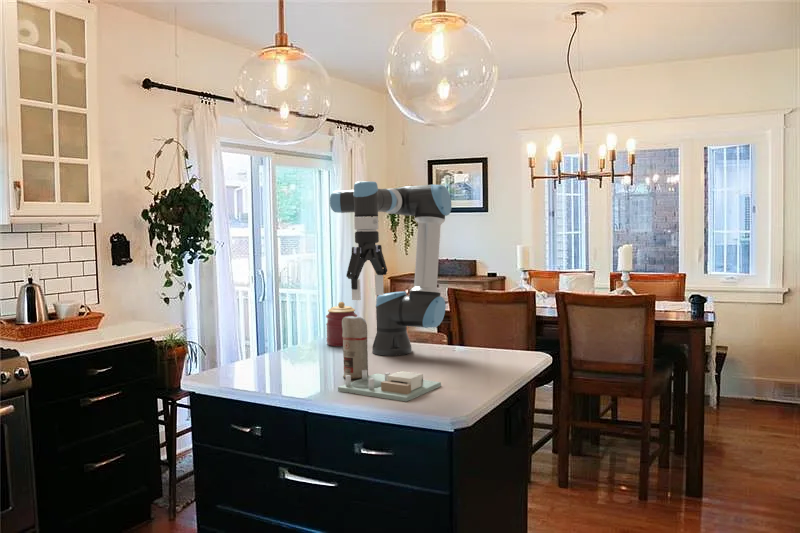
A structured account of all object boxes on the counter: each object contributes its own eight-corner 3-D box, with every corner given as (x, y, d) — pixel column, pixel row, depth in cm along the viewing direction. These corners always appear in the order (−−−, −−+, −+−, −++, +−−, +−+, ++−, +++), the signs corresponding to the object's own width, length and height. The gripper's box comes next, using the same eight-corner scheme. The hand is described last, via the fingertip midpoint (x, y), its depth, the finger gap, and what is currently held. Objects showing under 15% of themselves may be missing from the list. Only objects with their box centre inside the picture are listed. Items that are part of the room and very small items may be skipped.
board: (338, 390, 196) (337, 377, 196) (376, 377, 213) (375, 364, 213) (406, 401, 183) (406, 386, 183) (441, 386, 200) (440, 372, 200)
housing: (387, 387, 194) (387, 375, 193) (400, 382, 199) (400, 371, 199) (410, 390, 189) (410, 378, 189) (423, 385, 195) (423, 373, 195)
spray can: (339, 375, 216) (338, 315, 215) (362, 373, 219) (361, 313, 218) (348, 381, 208) (346, 318, 207) (372, 378, 212) (371, 316, 210)
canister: (323, 342, 277) (322, 300, 276) (352, 340, 281) (352, 299, 280) (330, 347, 265) (329, 304, 264) (361, 345, 269) (360, 302, 268)
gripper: (354, 231, 195) (356, 302, 197) (396, 229, 217) (398, 293, 218) (333, 231, 199) (335, 301, 201) (377, 229, 220) (378, 292, 222)
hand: (368, 297), depth 209 cm, fingers open, 13 cm apart
